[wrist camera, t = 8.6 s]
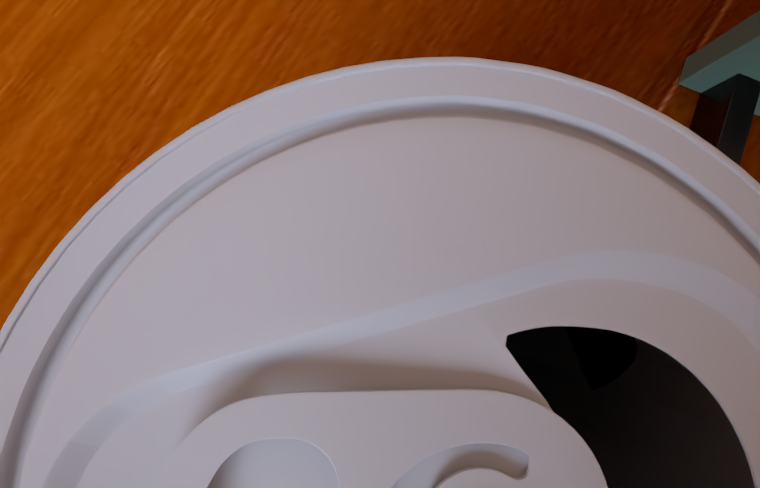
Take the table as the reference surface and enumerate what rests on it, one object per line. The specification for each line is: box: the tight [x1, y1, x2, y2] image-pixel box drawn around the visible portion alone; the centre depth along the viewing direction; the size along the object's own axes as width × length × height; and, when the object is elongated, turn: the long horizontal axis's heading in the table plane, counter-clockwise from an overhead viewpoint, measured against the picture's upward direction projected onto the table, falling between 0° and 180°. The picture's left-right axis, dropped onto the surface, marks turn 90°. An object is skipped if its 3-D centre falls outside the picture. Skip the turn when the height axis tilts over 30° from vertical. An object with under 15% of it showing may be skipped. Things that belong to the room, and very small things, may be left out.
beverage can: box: [0, 57, 760, 488], centre depth 9 cm, size 6×6×12 cm
